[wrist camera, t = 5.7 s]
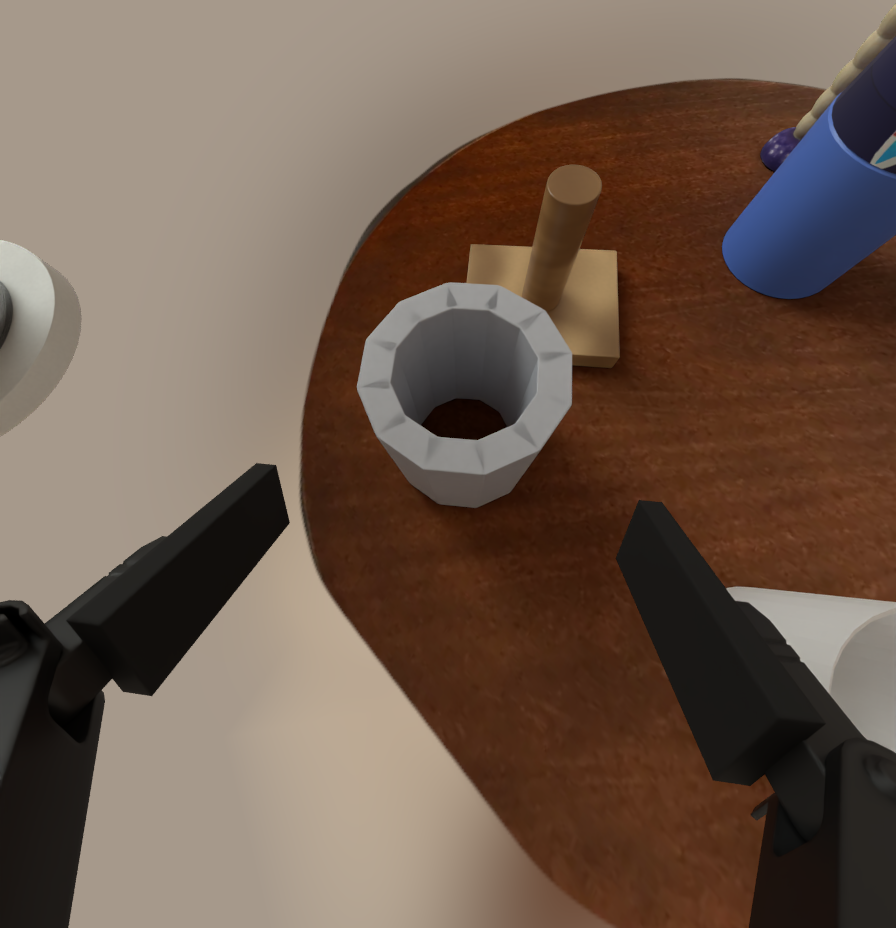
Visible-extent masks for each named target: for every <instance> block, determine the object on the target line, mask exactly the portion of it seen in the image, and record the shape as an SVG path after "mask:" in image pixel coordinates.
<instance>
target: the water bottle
mask: <svg viewBox="0 0 896 928" xmlns="http://www.w3.org/2000/svg"><path fill="white" fill-rule="evenodd" d="M895 235H896V36H895V37H894V38H893V39H892V40H891V41H890V42H889V43H888V44H887V45H886V47H885V48H884V49H883V50H882V51H881V52H880V53H879V54H878V55H877V56H876V57H875V58H874V59H873V60H872V61H871V62H870V63H869V64H868V65H867V66H866V68H865V69H864V70H863V71H862V72H861V73H860V74H859V75H858V76H857V77H856V78H855V79H854V80H853V81H852V82H851V83H850V84H849V85H848V86H847V87H846V89H845V90H844V91H843V92H841V93H840V94H839V95H838V96H837V97H836V98H835V99H834V100H833V102H832V103H831V104H830V105H829V106H828V108H827V109H826V110H825V111H824V113H823V114H822V115H821V116H820V117H819V119H818V120H817V121H816V122H815V124H814V125H813V126H812V127H811V129H810V130H809V131H808V132H807V133H806V135H805V136H804V137H803V138H802V140H801V141H800V142H799V143H798V144H797V146H796V147H795V148H794V149H793V151H792V152H791V153H790V154H789V155H788V157H787V158H786V159H785V160H784V162H783V163H782V164H781V165H780V167H779V168H778V169H777V170H776V172H775V173H774V174H773V175H772V176H771V178H770V179H769V180H768V181H767V183H766V184H765V185H764V186H763V188H762V189H761V190H760V191H759V193H758V194H757V195H756V196H755V198H754V199H753V200H752V201H751V203H750V204H749V205H748V206H747V207H746V209H745V210H744V211H743V212H742V214H741V215H740V216H739V217H738V219H737V220H736V221H735V222H734V224H733V225H732V226H731V227H730V229H729V230H728V231H727V233H726V235H725V237H724V240H723V244H722V250H723V256H724V259H725V262H726V264H727V266H728V268H729V269H730V271H731V272H732V273H733V274H734V275H735V277H736V278H737V279H739V280H740V281H741V282H742V283H743V284H745V285H746V286H748V287H750V288H751V289H753V290H755V291H757V292H760V293H762V294H765V295H768V296H772V297H776V298H784V299H797V298H804V297H808V296H811V295H814V294H816V293H818V292H820V291H821V290H823V289H824V288H825V287H827V286H828V285H829V284H831V283H832V282H833V281H835V280H836V279H837V278H839V277H840V276H841V275H843V274H844V273H845V272H847V271H848V270H849V269H851V268H852V267H853V266H855V265H856V264H857V263H859V262H860V261H861V260H863V259H864V258H865V257H867V256H868V255H870V254H871V253H872V252H874V251H875V250H876V249H878V248H879V247H880V246H882V245H883V244H884V243H886V242H887V241H888V240H890V239H891V238H892V237H894V236H895Z"/></svg>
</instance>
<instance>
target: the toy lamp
mask: <svg viewBox="0 0 896 928" xmlns="http://www.w3.org/2000/svg"><path fill="white" fill-rule="evenodd" d="M895 36H896V4H895V5H894V6H893V7H892V8H891V10H890V11H889V12H888V13H887V15H886V16H885V17H884V19H883V20H882V22H881V24H880V26H879V28H878V29H877V30H876V31H875V32H874V33H872V34H871V35H870V36H869V37H868V38H867V39H866V41H865V42H864V43H863V44H862V46H861V47H860V48H859V50H858V51H857V53H856V55H855V57H854V59H853V60H852V61H850V62H849V63H848V64H847V65H846V66H845V67H844V68H843V69H842V70H841V71H840V72H839V74H838V75H837V77H836V78H835V80H834V81H833V84H832V86H831V87H829V88H828V89H827V90H826V91H825V92H824V93H823V94H822V95H821V96H820V97H819V99H818V100H817V101H816V103H815V105H814V106H813V109H812V110H811V111H810V112H809V113H807V114H806V115H805V116H804V117H803V118H802V120H801V121H800V122H799V124H798V125H797V127H793V128H789V129H785V130H783V131H781V132H780V133H778V134H776V135H775V136H774V137H772V138H771V139H770V140H769V141H768V142H767V143H766V144H765V145H764V147H763V148H762V151H761V159H762V161H763V163H764V164H765V165H766V166H767V167H768V168H769V169H771V170H773V171H775V172H776V170H777V169H778V168H779V167H780V165H781V164H782V163H783V162H784V160H785V159H786V158H787V157H788V155H789V154H790V153H791V152H792V151H793V149H794V148H795V147H796V146H797V144H798V143H799V142H800V141H801V140H802V138H803V137H804V136H805V135H806V133H807V132H808V131H809V130H810V129H811V127H812V126H813V125H814V124H815V122H816V121H817V120H818V119H819V117H820V116H821V115H822V114H823V113H824V111H825V110H826V109H827V108H828V106H829V105H830V104H831V103H832V102H833V100H834V99H835V98H836V97H837V96H838V95H839V94H840V93H841V92H843V91H844V90H845V89H846V87H847V86H848V85H849V84H850V83H851V82H852V81H853V80H854V79H855V78H856V77H857V76H858V75H859V74H860V73H861V72H862V71H863V70H864V69H865V68H866V66H867V65H868V64H869V63H870V62H871V61H872V60H873V59H874V58H875V57H876V56H877V55H878V54H879V53H880V52H881V51H882V50H883V49H884V48H885V47H886V45H887V44H888V43H889V42H890V41H891V40H892V39H893V38H894V37H895Z"/></svg>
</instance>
